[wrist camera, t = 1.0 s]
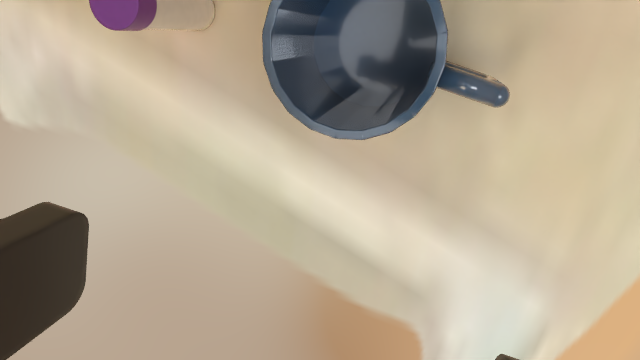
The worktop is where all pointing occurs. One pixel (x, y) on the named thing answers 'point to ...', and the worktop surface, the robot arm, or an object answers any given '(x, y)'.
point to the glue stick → (154, 14)
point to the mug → (364, 63)
